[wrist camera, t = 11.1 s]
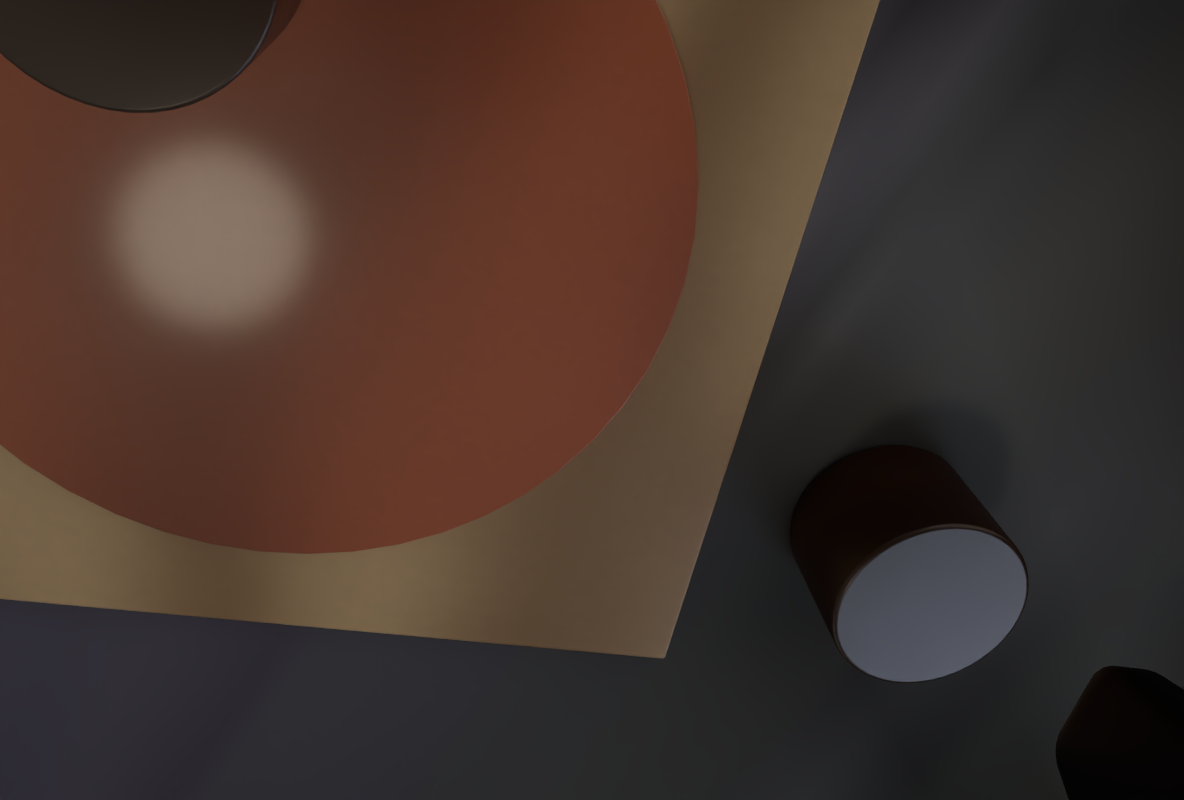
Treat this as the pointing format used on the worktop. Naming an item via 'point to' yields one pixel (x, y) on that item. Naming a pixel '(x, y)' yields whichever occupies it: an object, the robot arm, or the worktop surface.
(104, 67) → the eye
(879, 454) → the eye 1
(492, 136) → the face board
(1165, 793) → the robot arm
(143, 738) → the worktop surface
